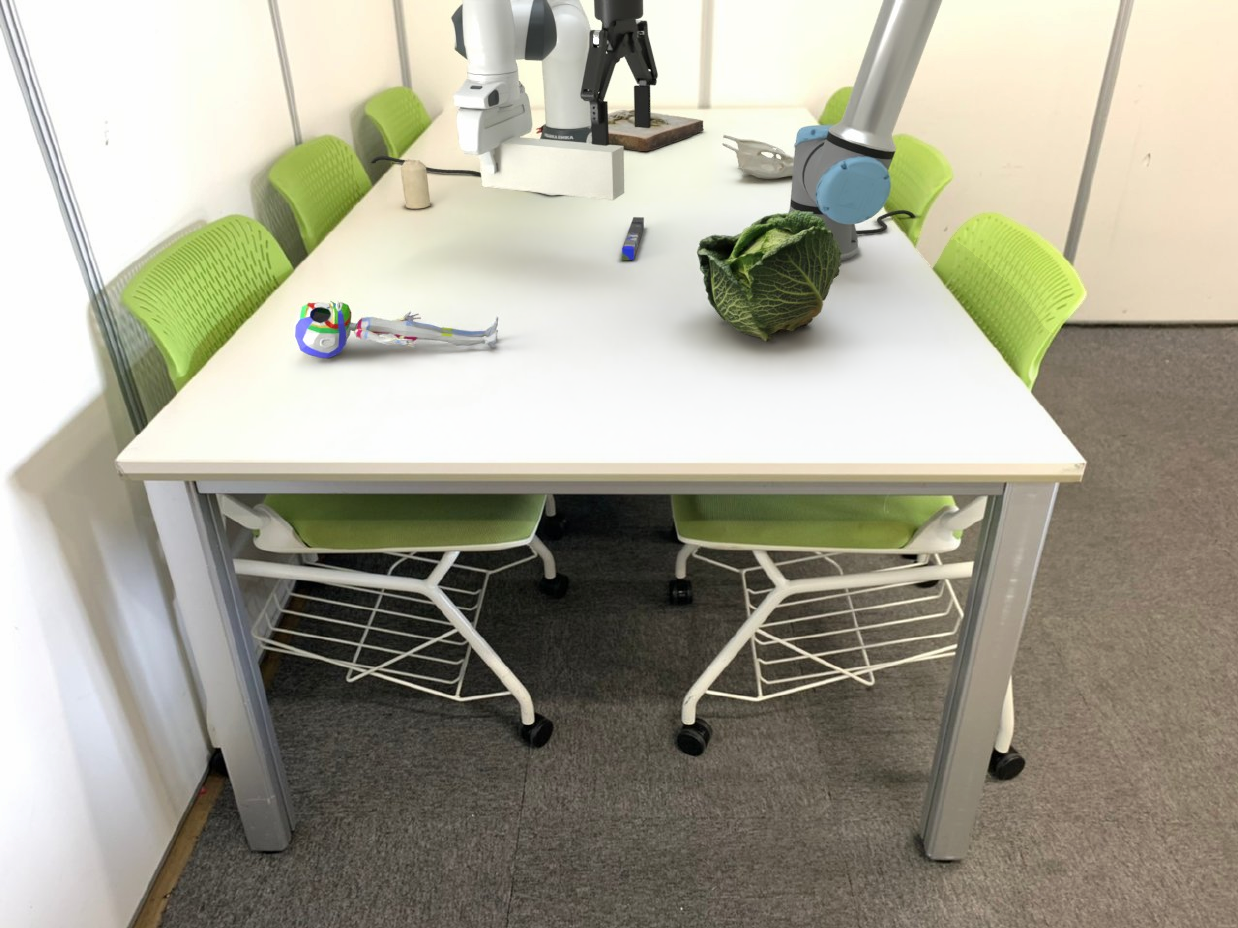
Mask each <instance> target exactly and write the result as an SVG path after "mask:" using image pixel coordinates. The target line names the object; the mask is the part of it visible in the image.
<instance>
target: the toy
mask: <svg viewBox="0 0 1238 928" xmlns="http://www.w3.org/2000/svg"><path fill="white" fill-rule="evenodd" d="M411 313H412V311H411V310H410V311H409V312H408V313H406V314H405V315H404V316H403V317H402V318H396V319H391V320H389V319H384V318H380V317H379V318H377V317H374V316H365V317H361V318H360V319H358V321H357V322H352V311H351V308H350V306H349V304H347V303H344V302H342V301H337V302H336V303H335V302H333V301H332V300H330V303H329V302H308V303H306V304H305V305H302V307H301V308H300V311H299V313H298V315H297V318H296V320H295V321H294V325H293V337H294V340H295V342H296V344H297V346H298V348H299V350H300V351H301V352H303V353H305V354H306V355H308V356H312V357H316V358H322V359H329V358H332V357H334V356H337V355H340V354H341V353H342V351H343V350H344V348H345V347H346V346H347V343H348V339H349V337H350V335H351V331H352V332H353V333H354V336H355V337H356V338H358V339H359V340H369V341H371V342H376V343H379V344H382V345H404V346H409V347H412V348H414V346H416V343H414V342H415V341H417V340H424V341H434V342H435V341H437V342H443V343H448V344H451V345H455V346H476V345H482V344H485V345H486V346H489V347H491V348H494V347H495V345H496V343H497V341H498V333H499V330H498V329H497V328H498V326H499V325H498V322H499V317H498V316H496V317H495V321H494V323H493V324H492V325H491V326H490V327H489V328H487V329H486V330H465V329H458V328H453V327H439V326H437V325H433V324H430V323H424V322H418V321H415V320H421V319H422V317H419V315H420V313H416V314H412V315H411ZM416 316H418V317H416ZM381 335H392V336H394V337H391V336H381Z"/></svg>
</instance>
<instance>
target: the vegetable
mask: <svg viewBox="0 0 1238 928" xmlns="http://www.w3.org/2000/svg"><path fill="white" fill-rule="evenodd" d="M698 245H699V246H698V248H697V251H696V253H697V258H698V262H699V270H700V272H701V273H702V274H703V278H702V279H703V284H704V287H705V292H706V293H707V300H708V302H709V304H710V306H711V307H712V308H713V309H714V310H715V312H716V313H717V315H718V316H719V317H720V319H721V320H723V322H727V323H728V324H729V325H730V326H731V328H733V329H734V330H736V331H737V332H739V333H740V334H741V333H742V334H743V335H747V336H750V337H757V338H760V339H762V340H763V342H768V340H769V339H772V340H773V339H774V337H773V336H772V335H773V334H775V333H776V332H778V331H779V330H786V331H790V332H793V331H794V330H795V329H796V328H798V327H808V324H810V323H812V322H813V320H814V318H815V317H817V316H818V315H820V313H822V312H821V311H822V309H823V306H824V301H825V300H826V298H827V297H828V295H829V292H830V289H831V285H832V284H833V282H834V280H835V278H837V277H838V276H839V275H840V267H841V266H842V264H841V261H840V256H841V254H842V253H841V251H840V249H839V245H838V243H837V242H836V241H835V239H834V235H833V234H832V232H831V230H830V231H827V229H826V226H825V222H824V221H823V219H822V218H819V217H817V216H815V215H814V213H813V212H801V211H799V210H798V211H797V210H793V211H792V212H790V213H788V212H785V213H774V214H769V215H766V216H764V217H762V218H759V219H758V220H756V221H754V222H753V223H751V224H750V226H747V227H746V228H744V229H743V230H742V231H741V233H737V234H736V235H725V234H722V235H719V234H712V235H710V236H707V237H704V238H703V239H701V240H700V241H699V243H698Z"/></svg>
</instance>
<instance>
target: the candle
mask: <svg viewBox="0 0 1238 928" xmlns="http://www.w3.org/2000/svg"><path fill="white" fill-rule="evenodd" d="M405 160H406V161H405V162H404V163H402V164H401V166H400V167H399V168H400V175H401V180H402V187H403V188H402V190H403V195H404V197H403V198H404V204H405V207H406V208H408V209H417V210H418V209H424V208H427V207H430V206H431V196H430V189H429V182H428V174H427V172H428V171H426V167H427V166H426V164H425V163H423V162H422V161H420V160H419V159H418V160H415V159H409V158H407V159H405Z"/></svg>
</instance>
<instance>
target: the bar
mask: <svg viewBox="0 0 1238 928" xmlns="http://www.w3.org/2000/svg"><path fill="white" fill-rule="evenodd" d="M493 157H494V160H495V163H498V172H497V173H495V174H487V172H486V166H485V163H484V161H483V159H482V157H481V155H478V159H479V168H480V172H481V176H480V178H481V179H480V180H481V187H485V188H495V189H501V190H512V191H520V192H531V193H538V192H539V194H542V193H549V194H558V195H557V196H560V195H561V196H568V197H576V198H577V197H578V198H585V199H587V198H588V199H595V200H596V199H597V200H604V201H615V200H616V199H618V198H619V197H620V196H622V195H624V194H625V148H624V146H618V145H608V146H603V145H594V144H592V143H582V142H570V141H558V140H546V139H540V138H534V137H524V136H521V137H512V138H510V139H508V140H506V141H503V142H501V143H500V146H499V147H497V148H495V149H494V155H493Z"/></svg>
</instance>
